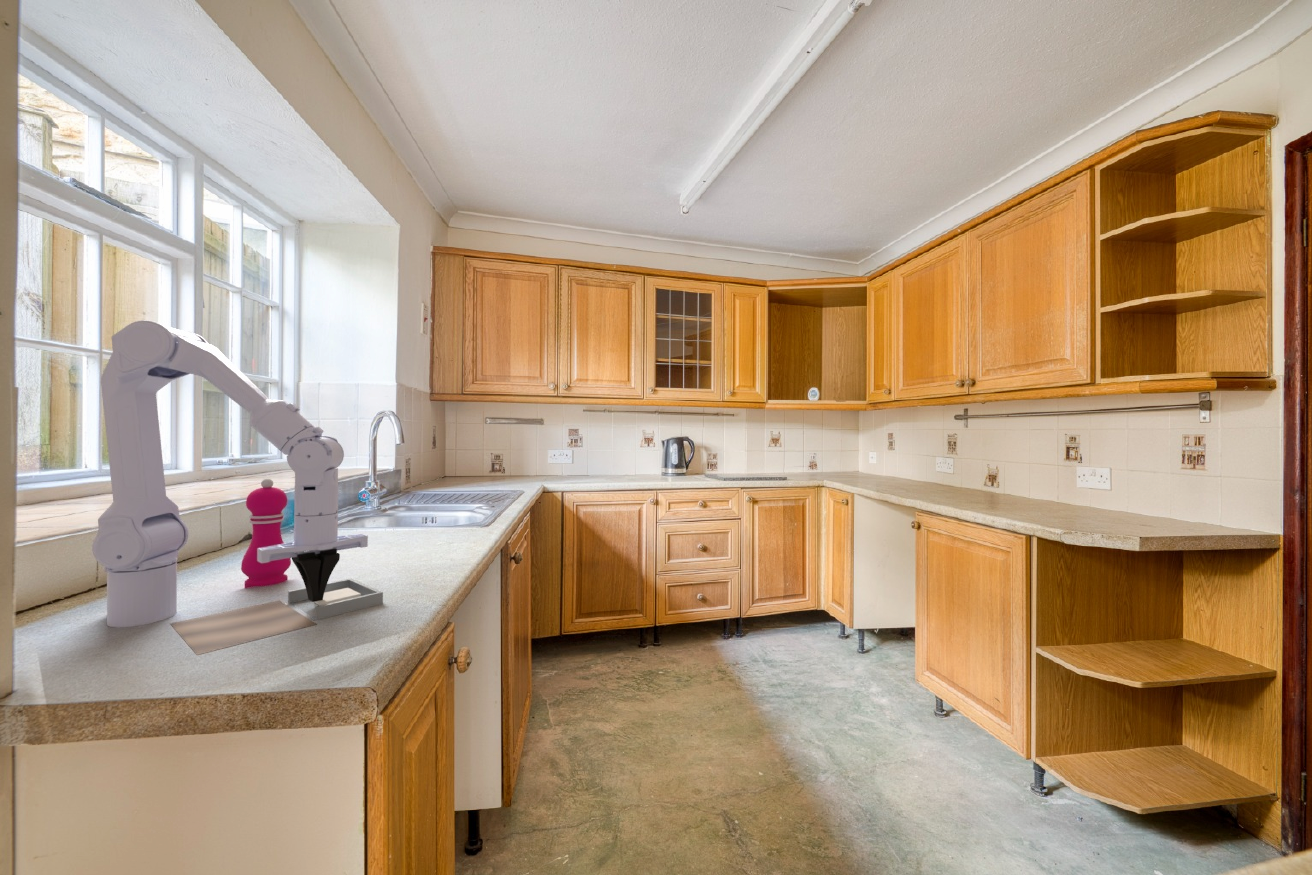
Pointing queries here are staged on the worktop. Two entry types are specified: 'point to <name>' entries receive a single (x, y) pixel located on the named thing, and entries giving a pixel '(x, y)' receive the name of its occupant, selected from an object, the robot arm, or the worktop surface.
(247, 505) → the pepper mill
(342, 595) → the tile
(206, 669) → the worktop surface
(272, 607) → the board
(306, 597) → the box
